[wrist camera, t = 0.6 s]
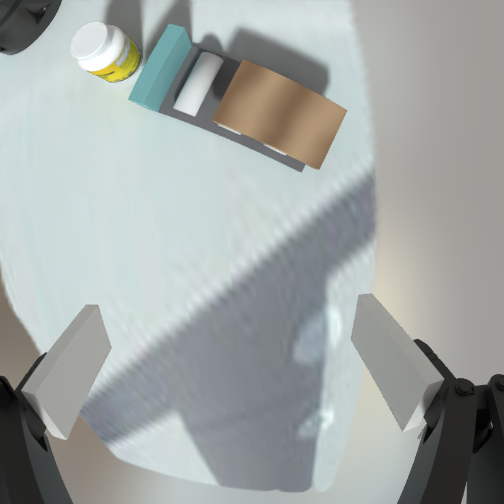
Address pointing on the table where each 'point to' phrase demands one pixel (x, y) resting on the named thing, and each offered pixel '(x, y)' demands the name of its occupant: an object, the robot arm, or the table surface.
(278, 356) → the table surface
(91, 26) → the pill bottle
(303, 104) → the slab
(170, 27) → the roller bed
